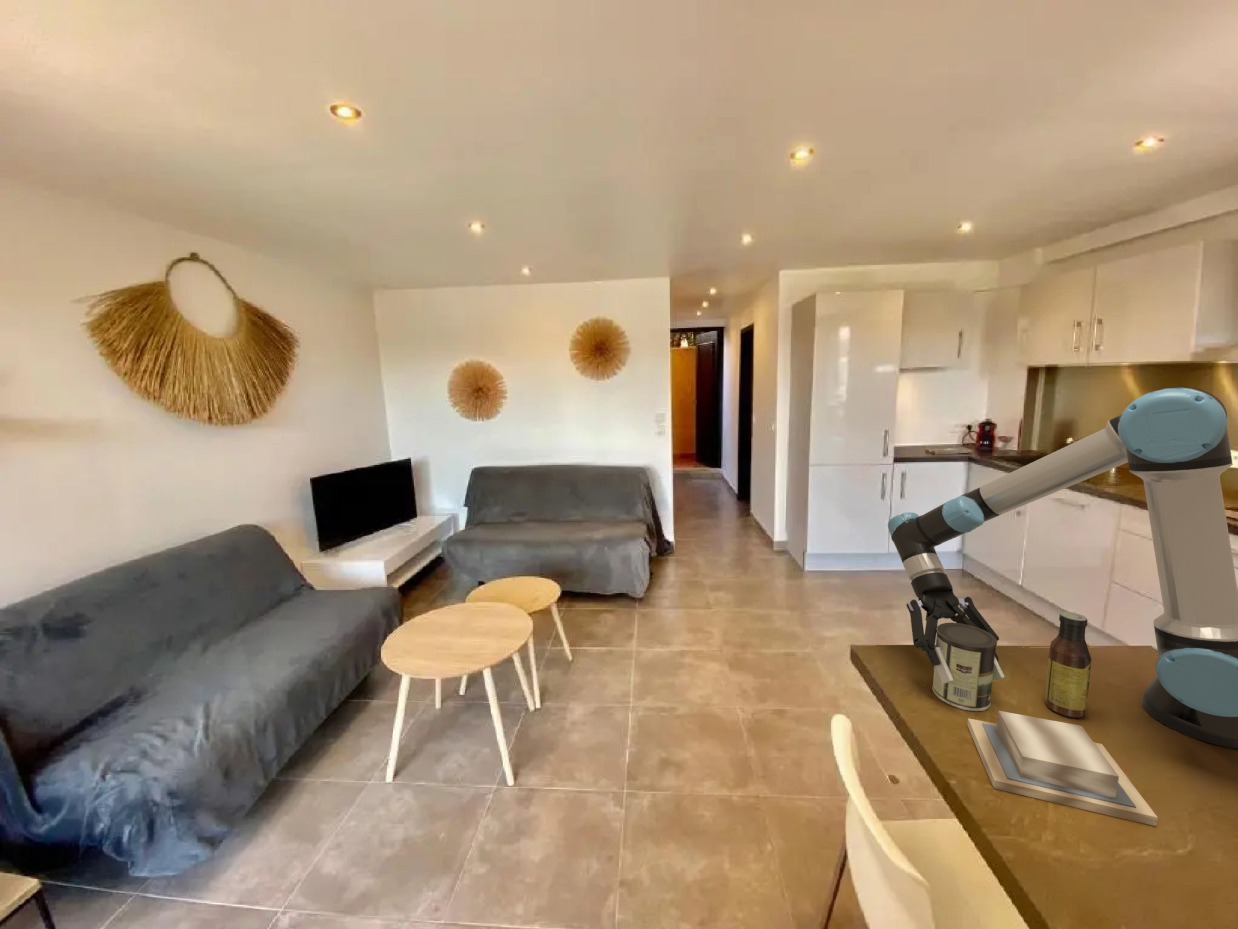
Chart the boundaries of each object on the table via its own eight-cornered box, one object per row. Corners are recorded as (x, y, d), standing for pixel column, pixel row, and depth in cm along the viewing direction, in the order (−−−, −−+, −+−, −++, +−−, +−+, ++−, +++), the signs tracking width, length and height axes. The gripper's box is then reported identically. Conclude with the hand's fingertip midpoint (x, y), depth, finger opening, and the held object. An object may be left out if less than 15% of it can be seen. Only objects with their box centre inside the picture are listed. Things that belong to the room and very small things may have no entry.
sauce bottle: (1093, 721, 96) (1107, 626, 92) (1056, 718, 97) (1068, 623, 93) (1070, 700, 102) (1082, 610, 99) (1035, 697, 103) (1046, 608, 100)
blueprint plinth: (1100, 751, 88) (1104, 723, 87) (1156, 826, 73) (1161, 794, 72) (967, 725, 95) (969, 699, 95) (993, 788, 81) (996, 758, 80)
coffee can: (973, 682, 108) (979, 623, 106) (1001, 713, 98) (1009, 648, 96) (922, 679, 110) (927, 620, 108) (945, 710, 100) (951, 645, 98)
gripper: (965, 581, 117) (1014, 681, 104) (872, 585, 116) (910, 687, 103) (985, 568, 111) (1039, 673, 98) (887, 573, 110) (929, 679, 97)
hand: (973, 680), depth 100 cm, fingers closed on coffee can, 10 cm apart
